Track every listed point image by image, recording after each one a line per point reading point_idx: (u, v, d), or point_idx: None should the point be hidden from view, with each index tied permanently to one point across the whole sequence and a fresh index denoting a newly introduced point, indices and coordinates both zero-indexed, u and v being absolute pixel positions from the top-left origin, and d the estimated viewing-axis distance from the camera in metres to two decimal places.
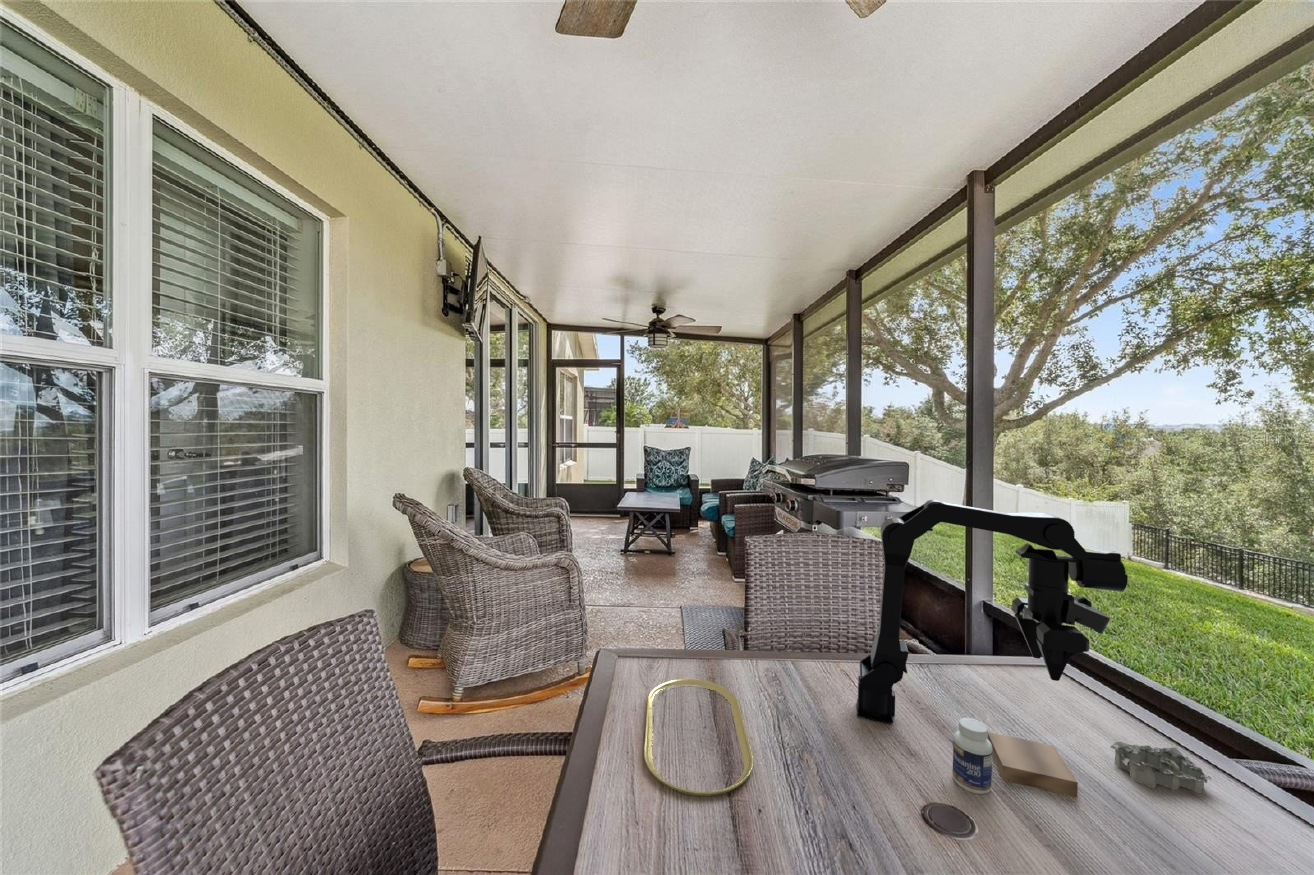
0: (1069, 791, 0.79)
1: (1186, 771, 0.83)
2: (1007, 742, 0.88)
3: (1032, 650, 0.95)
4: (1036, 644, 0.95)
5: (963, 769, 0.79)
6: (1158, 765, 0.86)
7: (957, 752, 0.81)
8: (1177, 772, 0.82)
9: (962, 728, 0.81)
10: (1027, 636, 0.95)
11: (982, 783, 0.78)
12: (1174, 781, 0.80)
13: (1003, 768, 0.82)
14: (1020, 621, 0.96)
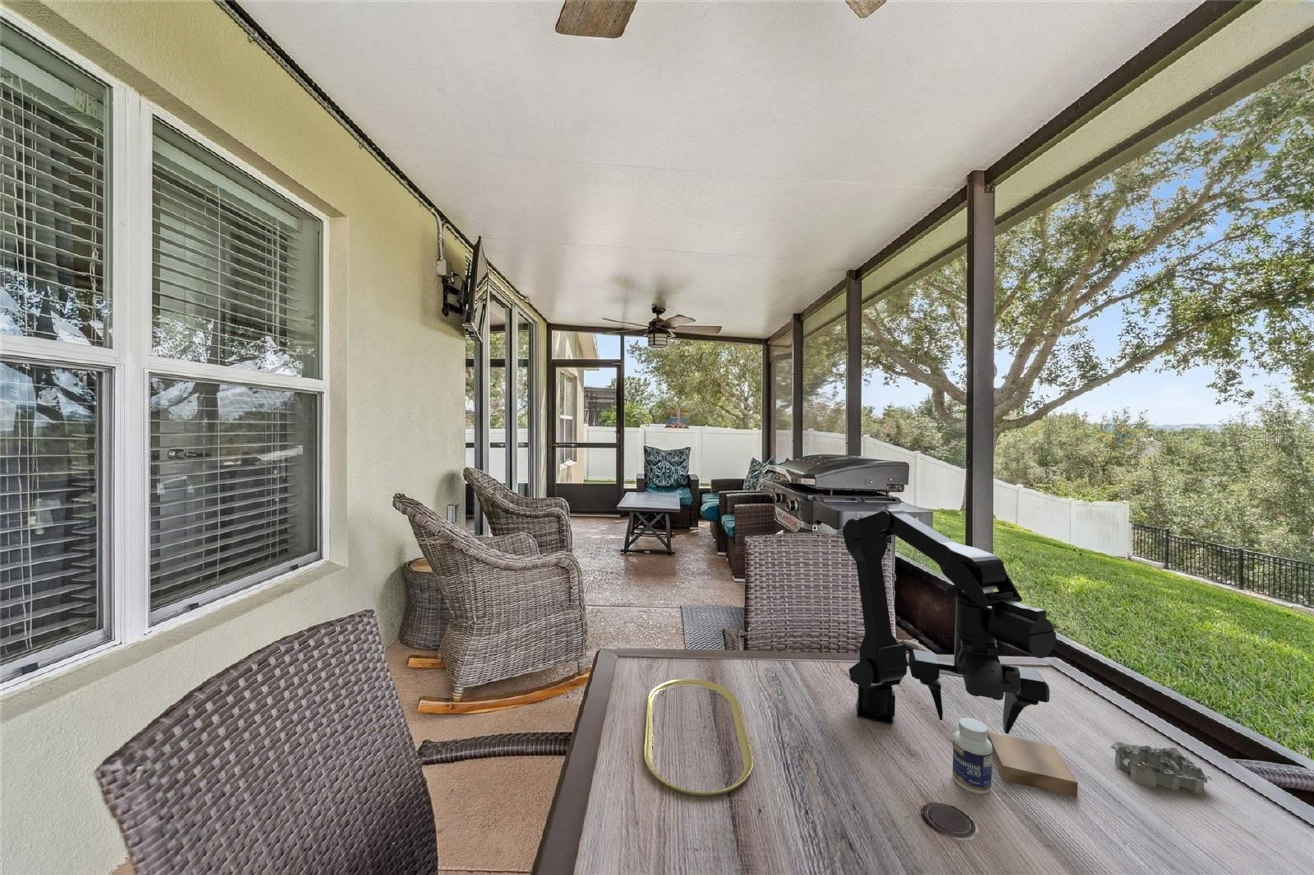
0: (1069, 791, 0.79)
1: (1186, 771, 0.83)
2: (1007, 742, 0.88)
3: (1003, 721, 0.80)
4: (1005, 716, 0.79)
5: (963, 769, 0.79)
6: (1158, 765, 0.86)
7: (957, 752, 0.81)
8: (1177, 772, 0.82)
9: (962, 728, 0.81)
10: (1006, 704, 0.80)
11: (982, 783, 0.78)
12: (1174, 781, 0.80)
13: (1003, 768, 0.82)
14: None
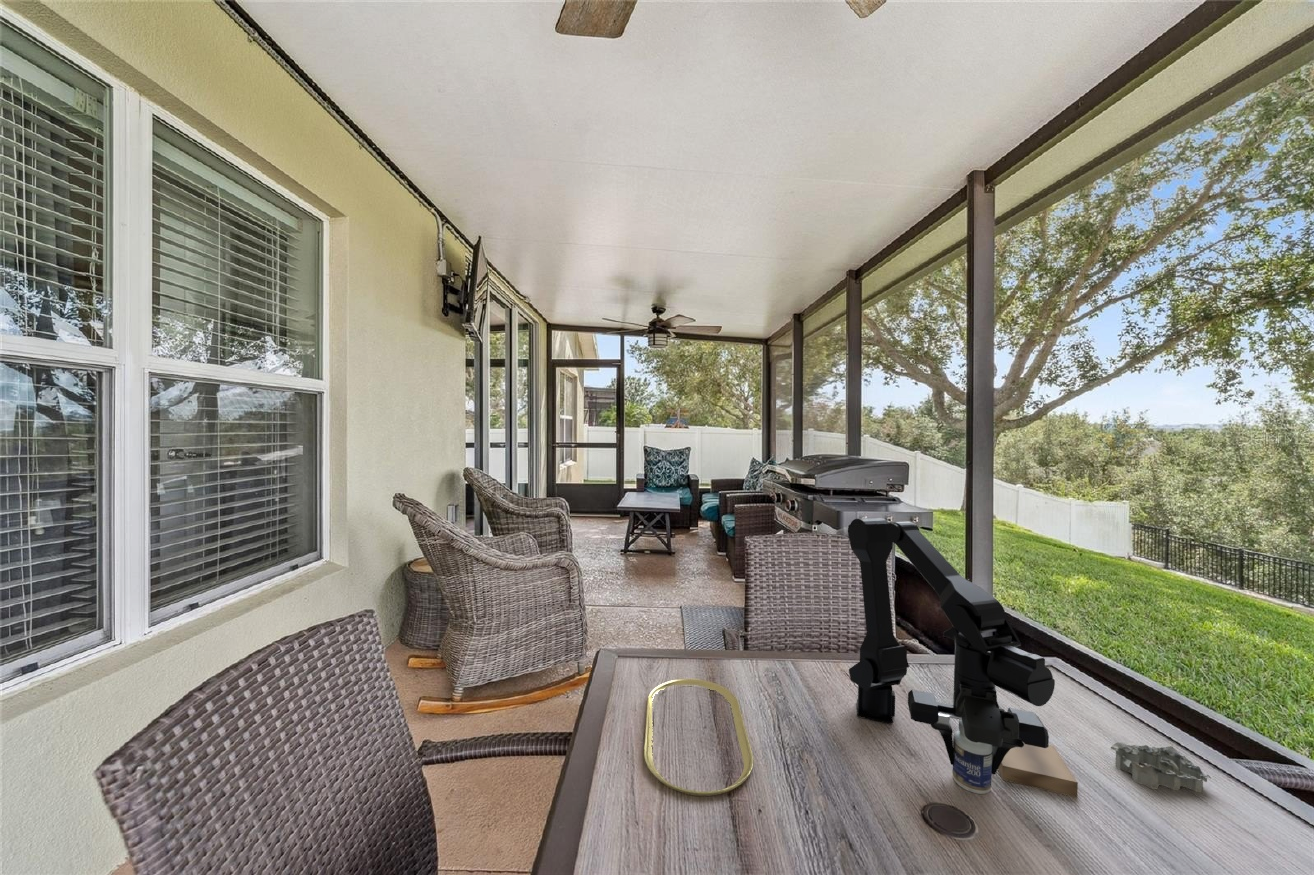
0: (1069, 791, 0.79)
1: (1184, 770, 0.83)
2: None
3: None
4: (992, 756, 0.80)
5: (963, 769, 0.79)
6: (1156, 765, 0.86)
7: (957, 752, 0.81)
8: (1177, 771, 0.82)
9: (962, 728, 0.81)
10: None
11: (982, 782, 0.78)
12: (1176, 781, 0.80)
13: (1003, 768, 0.82)
14: None
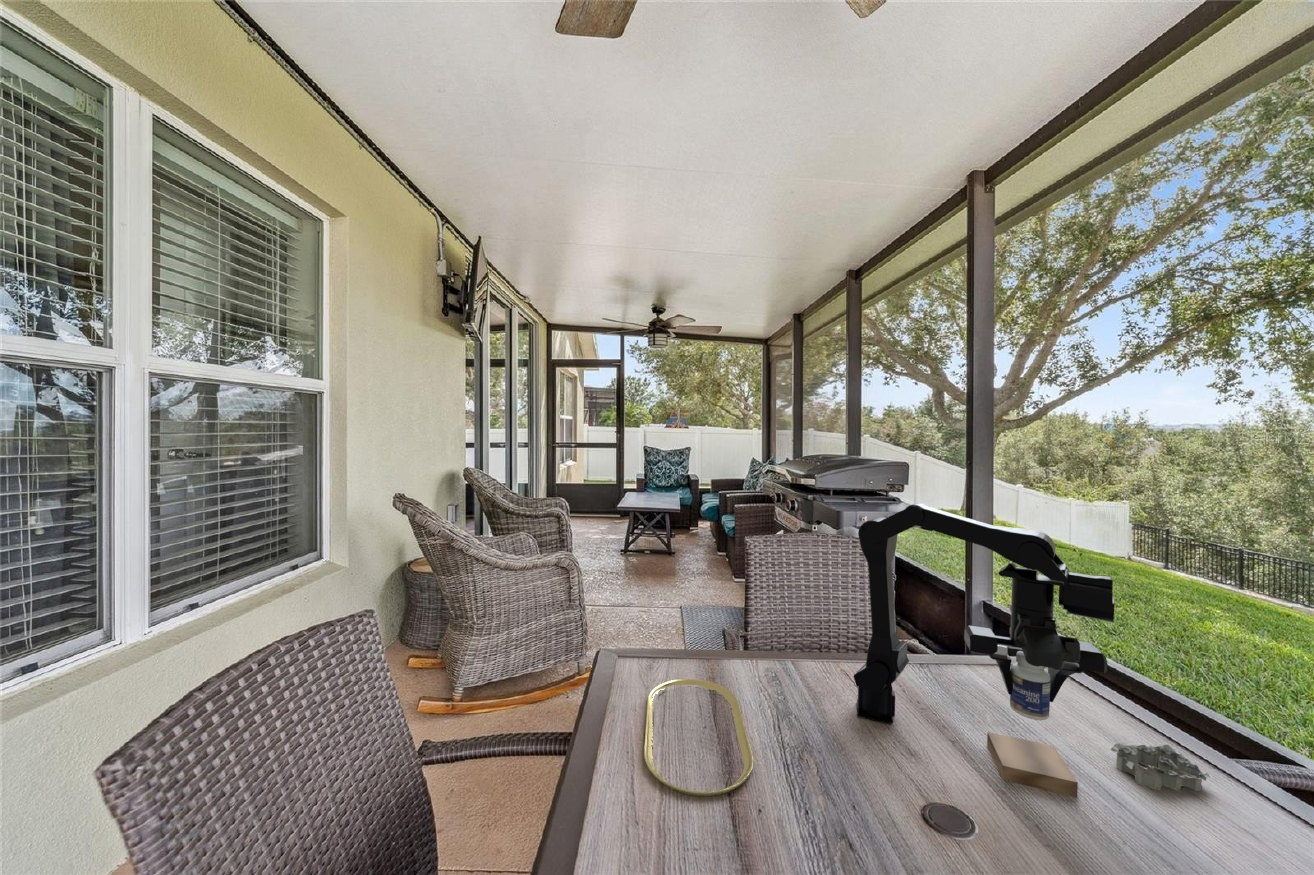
0: (1069, 791, 0.79)
1: (1182, 769, 0.83)
2: (1007, 742, 0.88)
3: None
4: (1050, 685, 0.83)
5: (1022, 697, 0.83)
6: (1154, 764, 0.86)
7: (1015, 682, 0.84)
8: (1176, 771, 0.83)
9: (1020, 659, 0.84)
10: None
11: (1041, 709, 0.82)
12: (1178, 781, 0.80)
13: (1003, 768, 0.82)
14: None
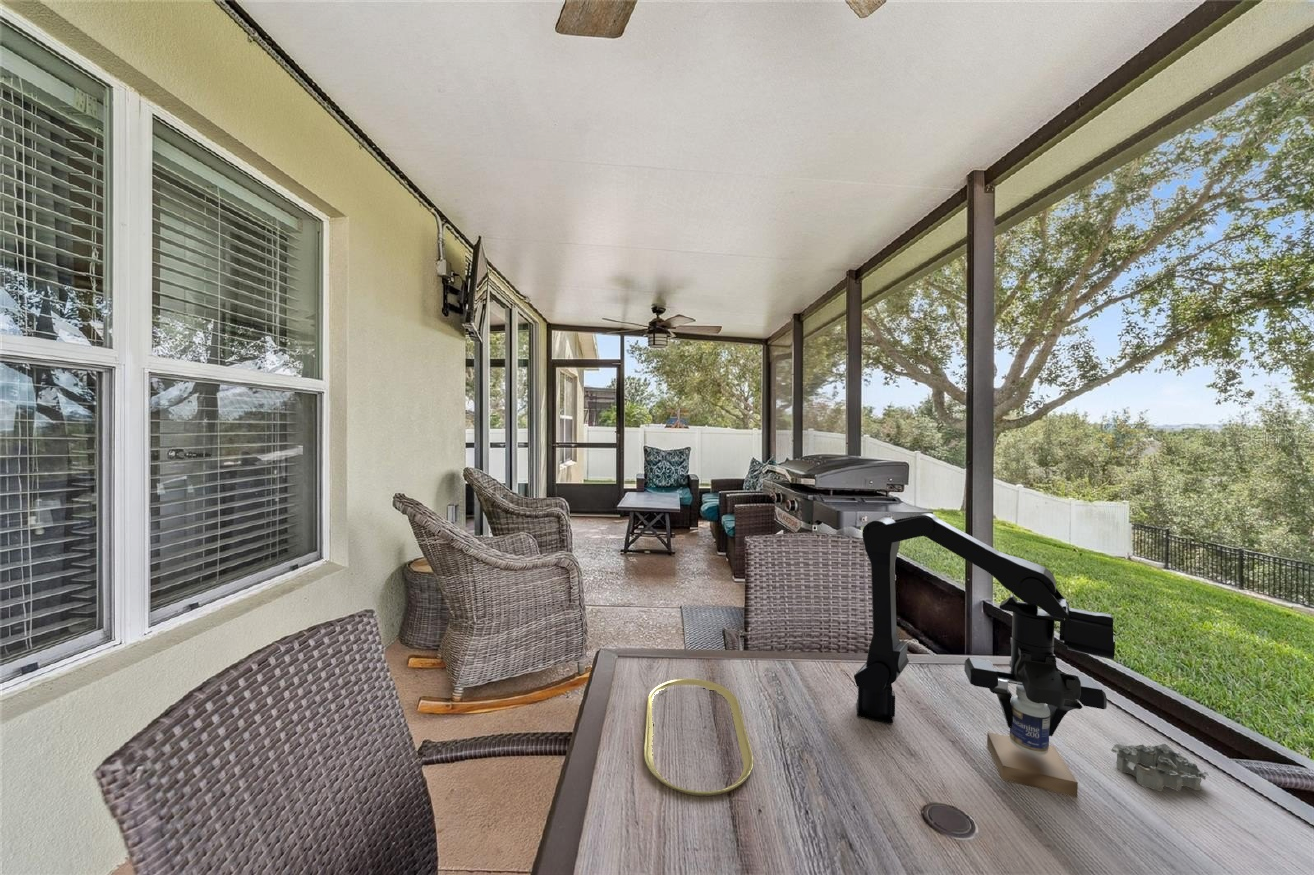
0: (1069, 791, 0.79)
1: (1181, 768, 0.84)
2: (1007, 742, 0.88)
3: None
4: None
5: (1022, 731, 0.83)
6: (1153, 764, 0.86)
7: (1015, 716, 0.84)
8: (1176, 770, 0.83)
9: (1020, 693, 0.84)
10: (1049, 708, 0.85)
11: (1041, 744, 0.82)
12: (1178, 781, 0.80)
13: (1003, 768, 0.82)
14: None
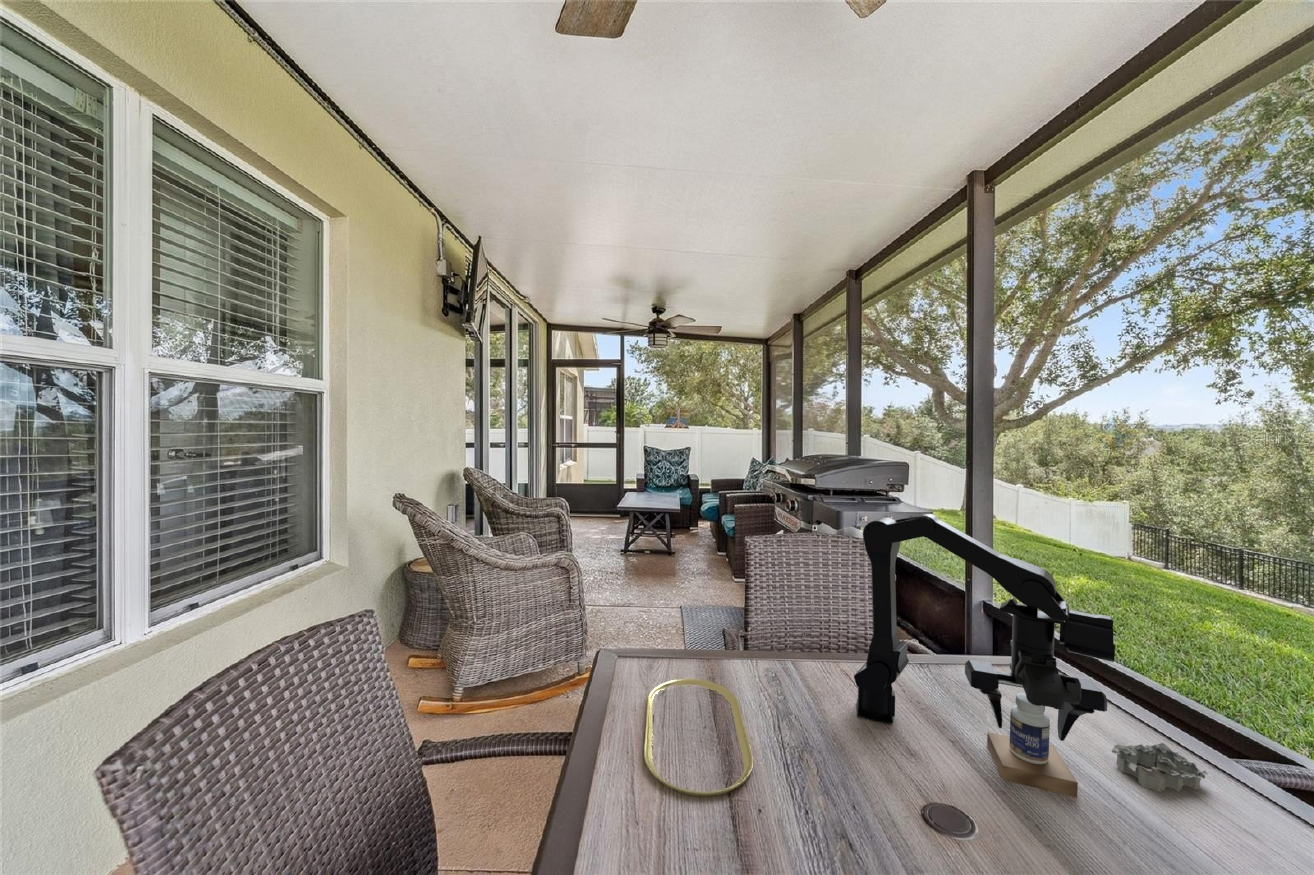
0: (1069, 791, 0.79)
1: (1180, 768, 0.84)
2: (1007, 742, 0.88)
3: (1058, 728, 0.84)
4: (1060, 723, 0.83)
5: (1022, 740, 0.83)
6: (1152, 763, 0.86)
7: (1015, 725, 0.84)
8: (1175, 770, 0.83)
9: (1019, 702, 0.84)
10: (1060, 712, 0.84)
11: (1041, 753, 0.82)
12: (1179, 781, 0.80)
13: (1003, 768, 0.82)
14: None
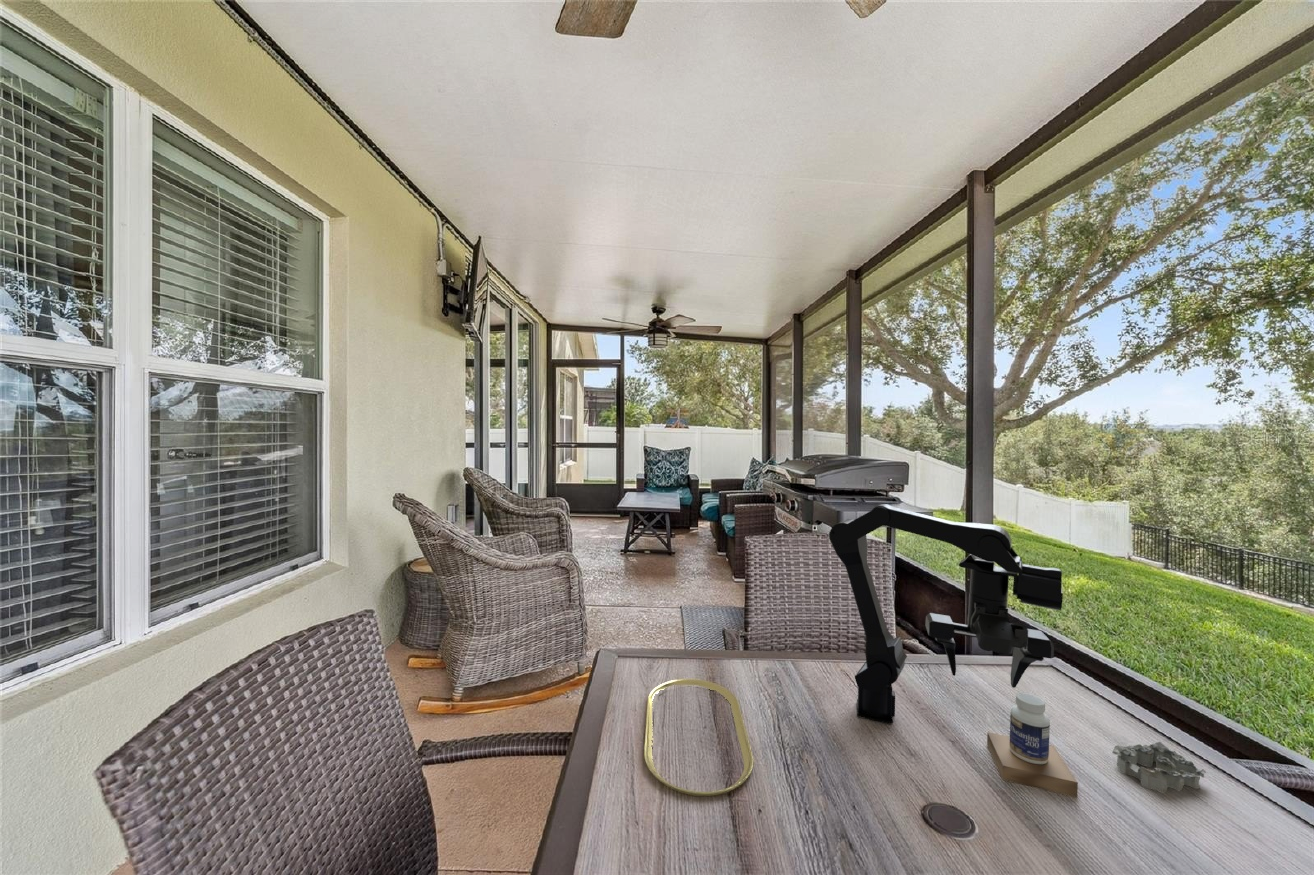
0: (1069, 791, 0.79)
1: (1178, 767, 0.84)
2: (1007, 742, 0.88)
3: None
4: (1013, 672, 0.88)
5: (1022, 740, 0.83)
6: (1150, 763, 0.86)
7: (1015, 725, 0.84)
8: (1175, 769, 0.83)
9: (1020, 702, 0.84)
10: (1014, 662, 0.89)
11: (1041, 753, 0.82)
12: (1180, 781, 0.80)
13: (1003, 768, 0.82)
14: None
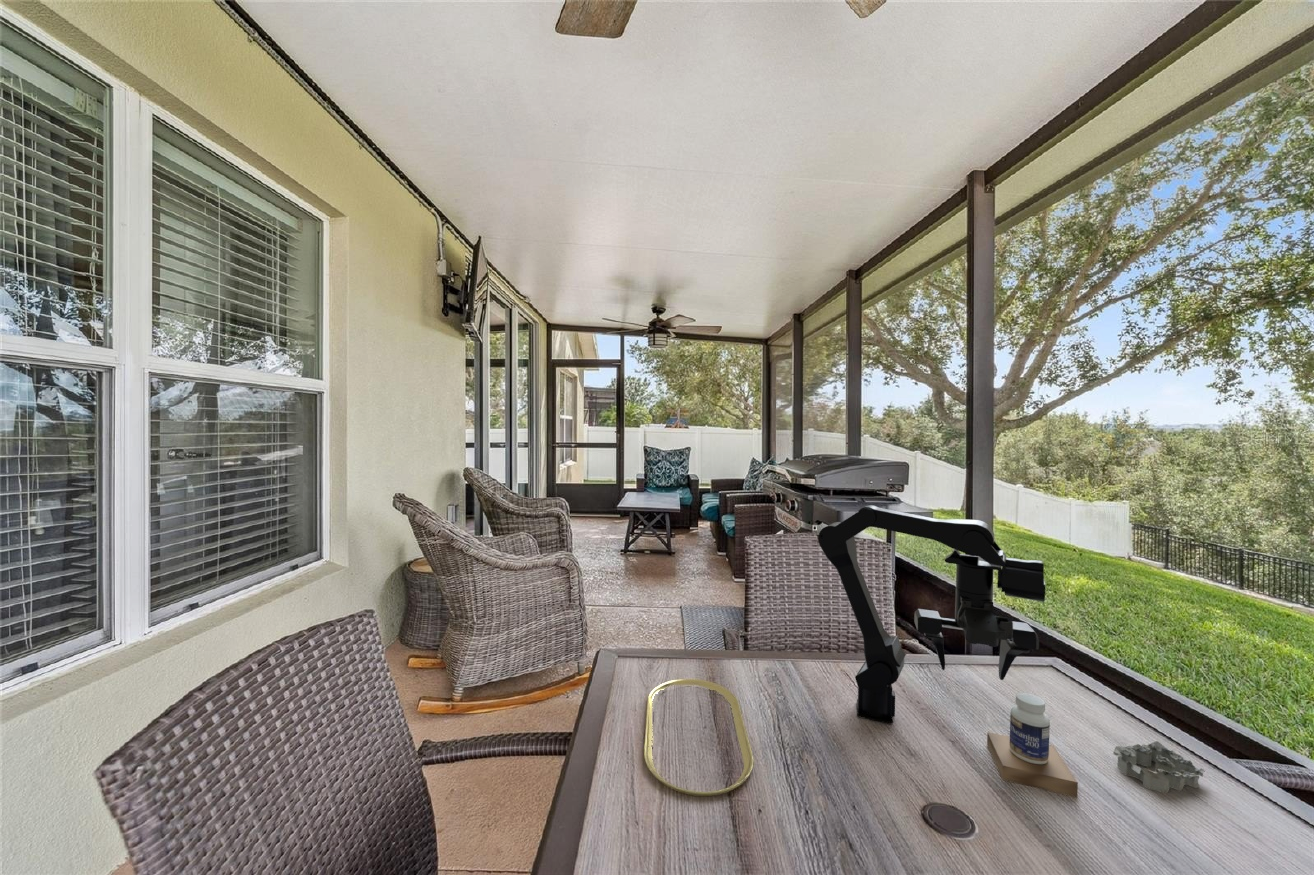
0: (1069, 791, 0.79)
1: (1177, 766, 0.84)
2: (1007, 742, 0.88)
3: None
4: (1001, 664, 0.90)
5: (1022, 740, 0.83)
6: (1149, 763, 0.86)
7: (1015, 725, 0.84)
8: (1174, 769, 0.83)
9: (1020, 702, 0.84)
10: (1001, 654, 0.91)
11: (1041, 753, 0.82)
12: (1181, 782, 0.80)
13: (1003, 768, 0.82)
14: None
